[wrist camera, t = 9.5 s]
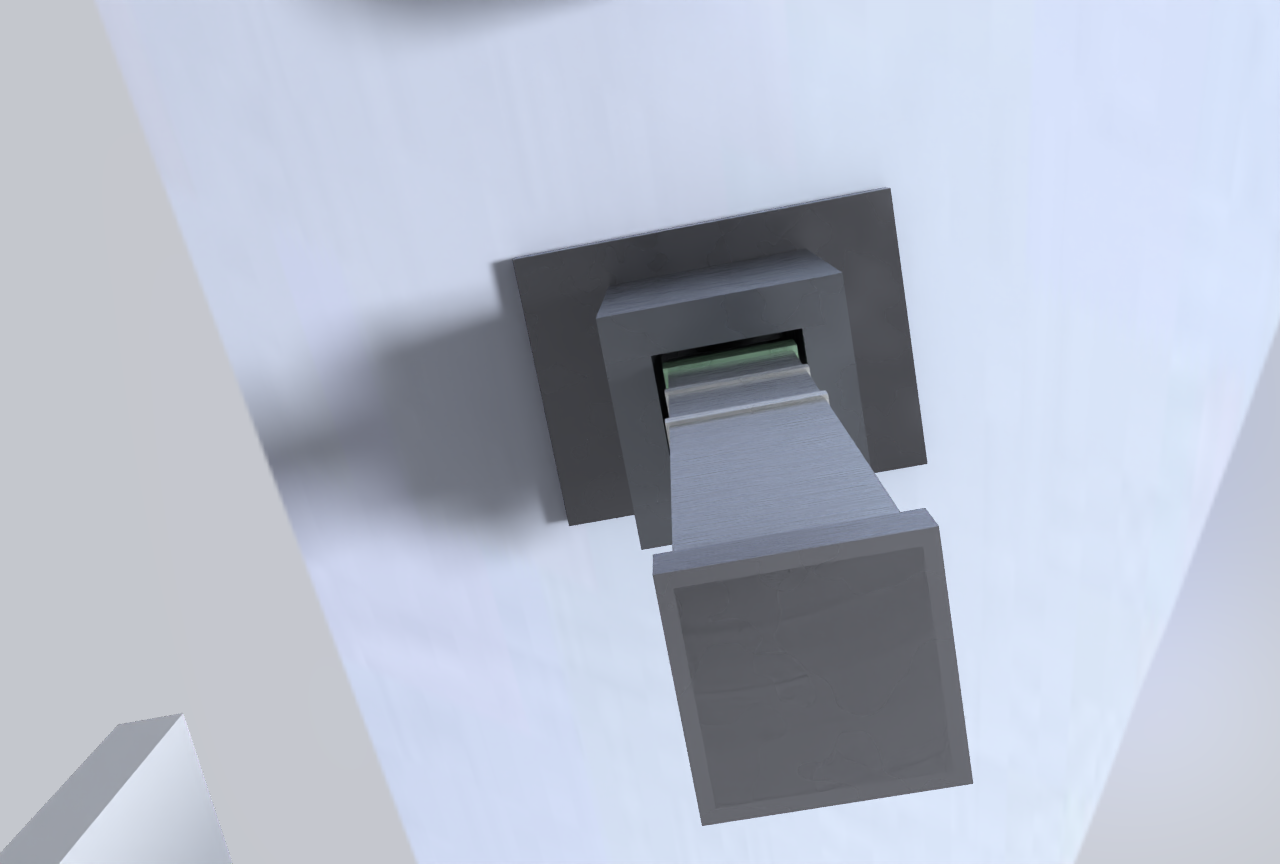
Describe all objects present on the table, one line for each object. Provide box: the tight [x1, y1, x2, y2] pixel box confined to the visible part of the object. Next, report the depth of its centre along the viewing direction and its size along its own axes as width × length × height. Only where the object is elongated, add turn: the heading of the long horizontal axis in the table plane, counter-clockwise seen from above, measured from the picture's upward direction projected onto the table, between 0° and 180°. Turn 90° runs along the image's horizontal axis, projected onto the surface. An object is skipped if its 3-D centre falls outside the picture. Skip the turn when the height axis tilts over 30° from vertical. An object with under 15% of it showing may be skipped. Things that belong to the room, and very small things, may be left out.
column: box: [653, 338, 973, 826], centre depth 30 cm, size 5×5×22 cm
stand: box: [513, 187, 927, 550], centre depth 45 cm, size 12×16×11 cm
